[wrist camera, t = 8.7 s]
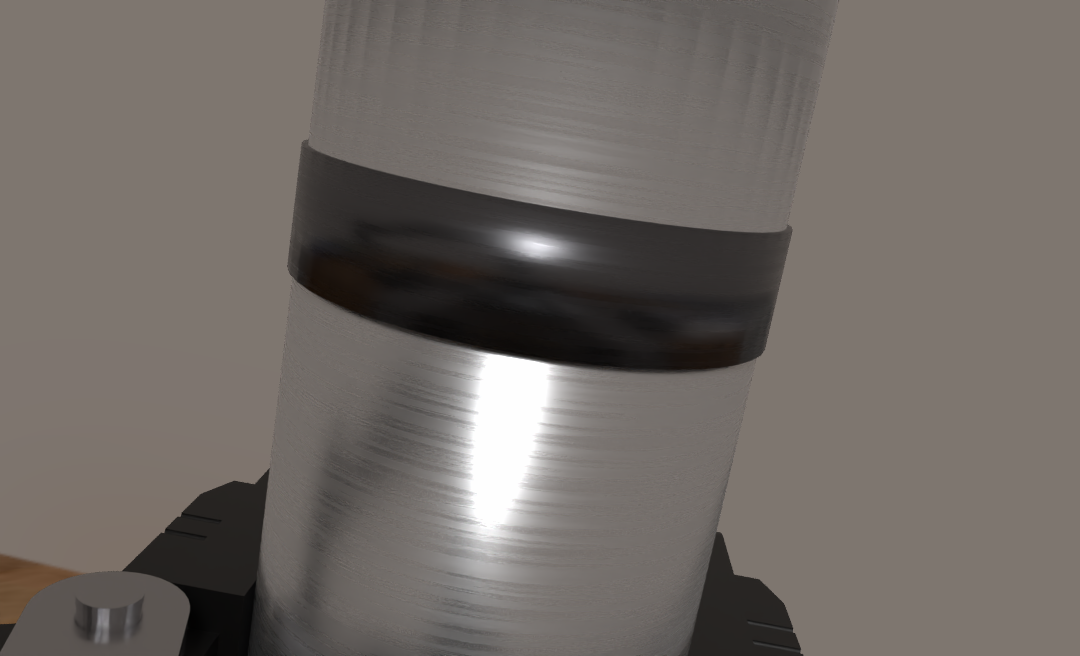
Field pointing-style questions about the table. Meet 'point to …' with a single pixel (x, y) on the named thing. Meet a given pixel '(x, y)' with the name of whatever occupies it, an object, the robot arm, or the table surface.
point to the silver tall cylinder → (526, 319)
